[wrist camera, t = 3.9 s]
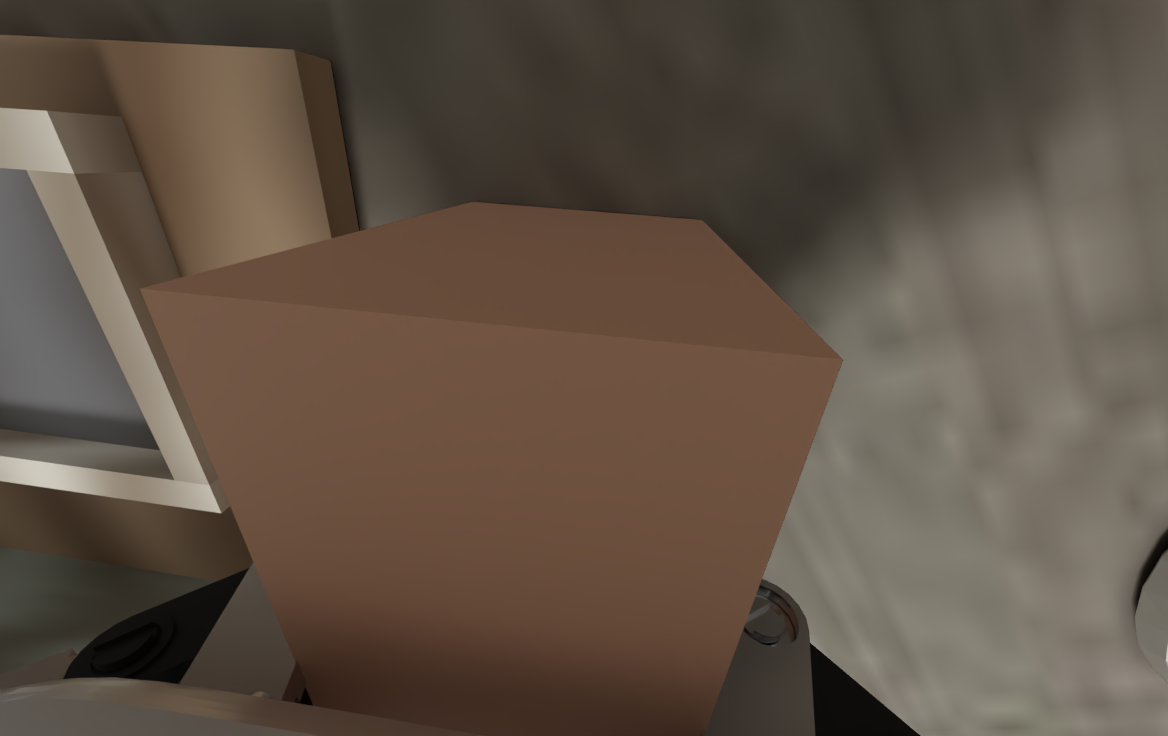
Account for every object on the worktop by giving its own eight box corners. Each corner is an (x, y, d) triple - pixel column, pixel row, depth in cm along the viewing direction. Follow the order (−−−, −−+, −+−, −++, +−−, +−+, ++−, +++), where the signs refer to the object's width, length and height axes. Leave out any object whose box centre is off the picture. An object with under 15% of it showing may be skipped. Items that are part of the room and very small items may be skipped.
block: (472, 201, 9) (140, 288, 3) (701, 219, 9) (843, 358, 3) (491, 571, 15) (383, 873, 9) (636, 592, 14) (633, 925, 8)
